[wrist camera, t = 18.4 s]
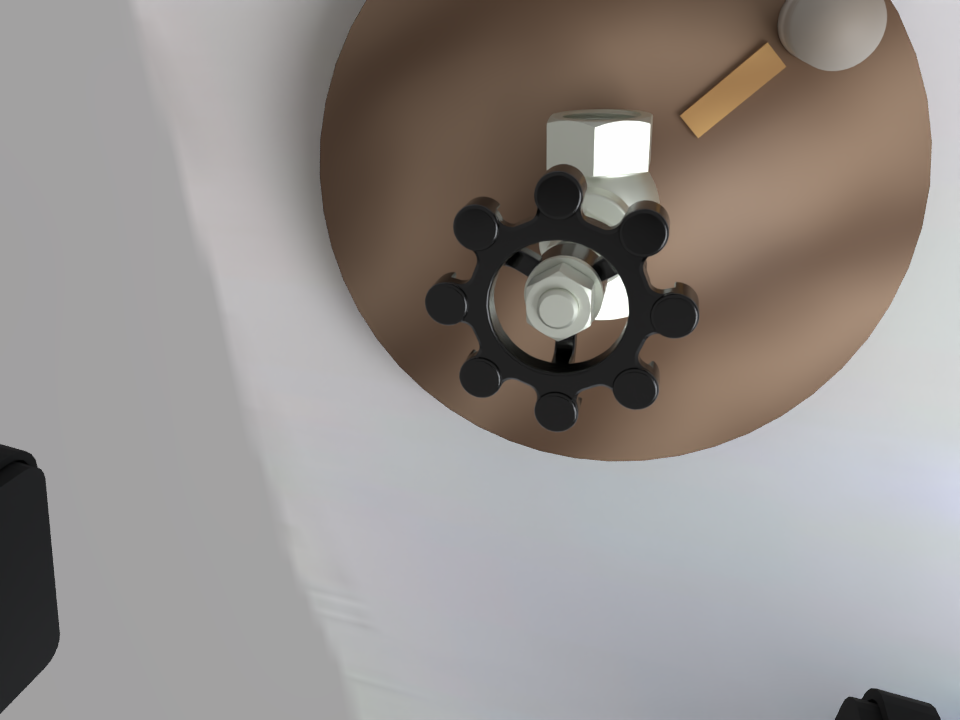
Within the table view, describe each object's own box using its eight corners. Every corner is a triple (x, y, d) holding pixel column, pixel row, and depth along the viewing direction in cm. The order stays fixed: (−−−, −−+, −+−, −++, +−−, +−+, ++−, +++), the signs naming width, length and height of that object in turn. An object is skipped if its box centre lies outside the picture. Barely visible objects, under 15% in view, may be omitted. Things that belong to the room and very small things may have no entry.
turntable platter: (1052, 229, 29) (1133, 281, 23) (571, 527, 38) (551, 612, 33) (652, -314, 25) (642, -396, 20) (232, 160, 35) (151, 189, 29)
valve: (516, 282, 32) (430, 422, 22) (514, 107, 30) (415, 168, 19) (689, 290, 31) (689, 445, 20) (703, 107, 28) (711, 174, 18)
